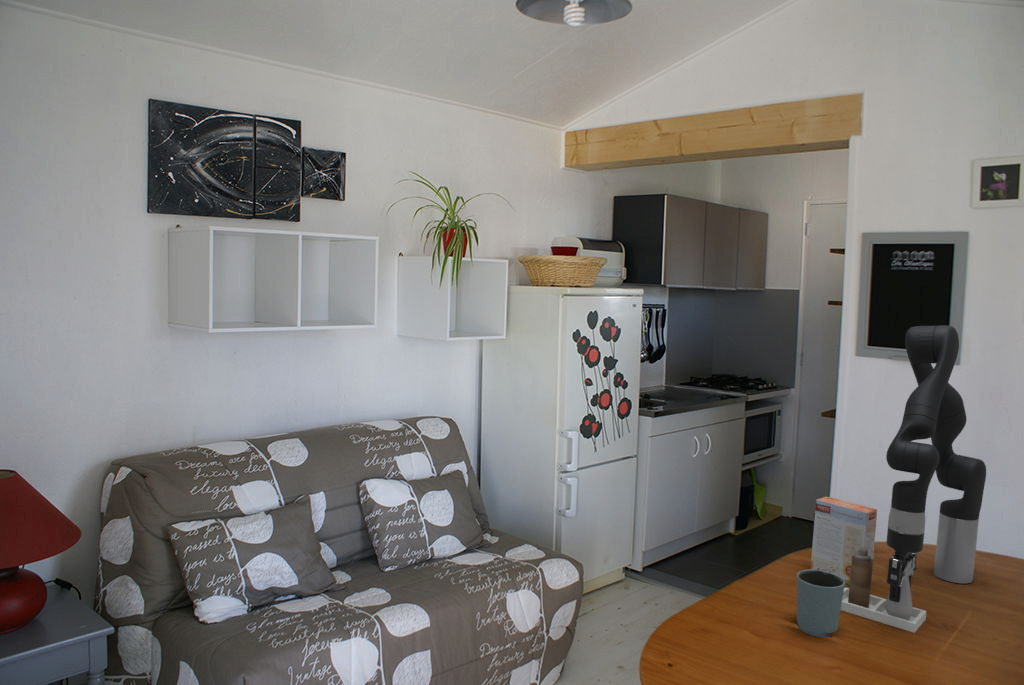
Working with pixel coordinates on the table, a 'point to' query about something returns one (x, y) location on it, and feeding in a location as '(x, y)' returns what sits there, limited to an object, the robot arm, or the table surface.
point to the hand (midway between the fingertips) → (899, 595)
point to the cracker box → (841, 535)
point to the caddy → (883, 613)
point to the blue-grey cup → (819, 601)
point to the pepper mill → (860, 578)
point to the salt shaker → (901, 600)
